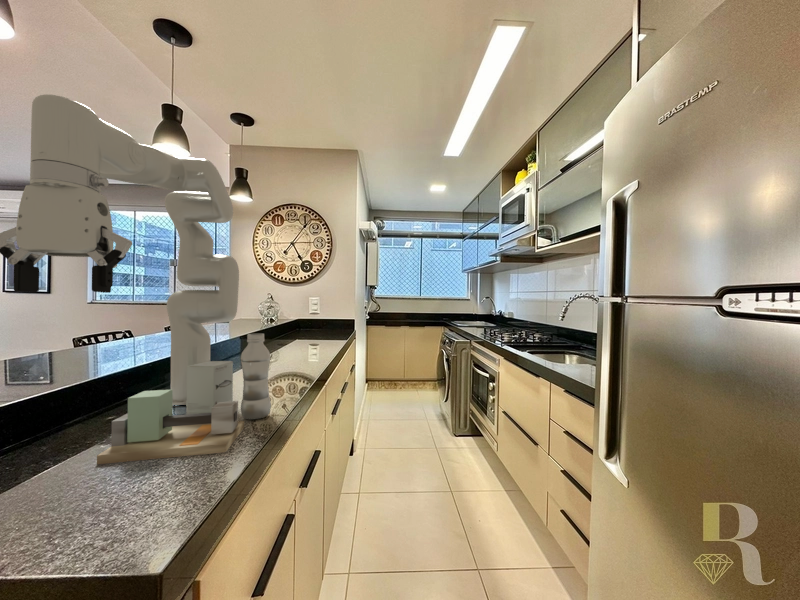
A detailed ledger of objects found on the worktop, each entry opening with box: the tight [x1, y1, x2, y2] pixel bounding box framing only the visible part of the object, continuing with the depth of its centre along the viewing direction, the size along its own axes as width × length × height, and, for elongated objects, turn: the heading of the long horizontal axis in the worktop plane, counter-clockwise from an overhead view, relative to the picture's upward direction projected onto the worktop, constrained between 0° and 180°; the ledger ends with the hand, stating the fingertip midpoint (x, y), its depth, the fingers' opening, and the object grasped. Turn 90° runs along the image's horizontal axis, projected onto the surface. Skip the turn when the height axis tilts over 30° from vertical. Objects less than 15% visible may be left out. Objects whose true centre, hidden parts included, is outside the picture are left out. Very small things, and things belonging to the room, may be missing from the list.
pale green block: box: [127, 389, 173, 442], centre depth 60 cm, size 5×5×8 cm
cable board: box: [96, 400, 245, 465], centre depth 61 cm, size 12×20×7 cm, turn 102°
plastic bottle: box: [240, 333, 272, 420], centre depth 75 cm, size 6×7×20 cm
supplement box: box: [185, 360, 234, 415], centre depth 79 cm, size 7×7×13 cm
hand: (64, 292), depth 49 cm, fingers open, 9 cm apart
